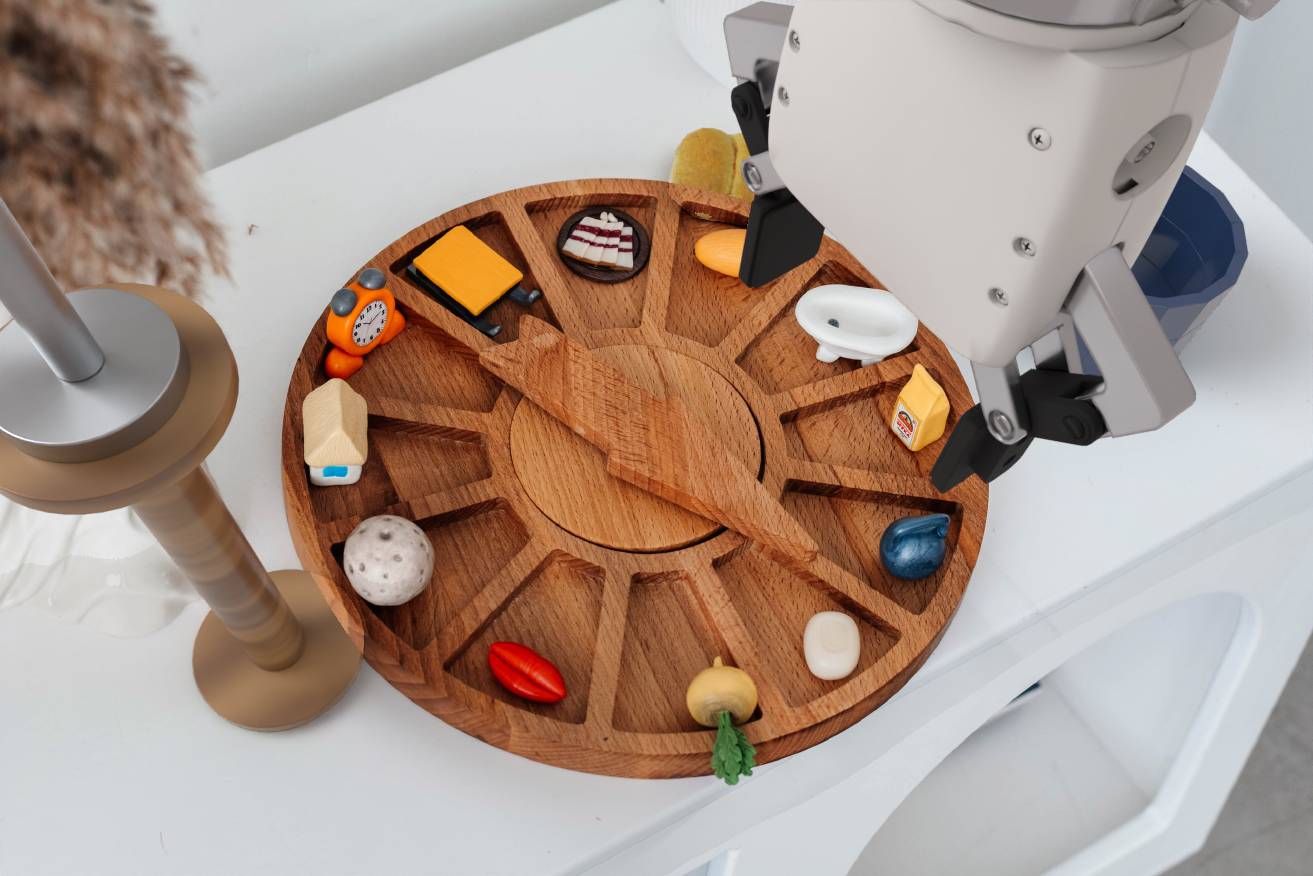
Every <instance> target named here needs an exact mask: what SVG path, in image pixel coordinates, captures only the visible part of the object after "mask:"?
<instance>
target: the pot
mask: <svg viewBox="0 0 1313 876" xmlns="http://www.w3.org/2000/svg"><path fill="white" fill-rule="evenodd" d="M1248 257H1249V249H1248V243H1247V236H1246V230H1245V223H1244V222H1243V220H1242V219H1241V217H1240V216H1239V214H1238V213H1237V211H1236V209H1235V208H1234V206H1233V205H1232V203H1231V202H1230V200H1229V199H1228V197H1227V196H1226V195H1225V193H1224V192H1223V191H1222V190H1221V189H1219V188H1218V187H1217V186H1216V185H1214V184H1213V183H1211V181H1209V180H1208V179H1207V178H1205V176H1203V175H1201V173H1199V172H1198V171H1196V170H1195V169H1194V168H1192V167H1191V166H1190V165H1188V164H1185V167H1184V169H1183V171H1182V173H1181V175H1180V177H1179V179H1178V181H1177V183H1176V185H1175V187H1174V189H1173V191H1172V193H1171V195H1170V197H1169V199H1168V201H1167V203H1166V205H1165V207H1164V209H1163V211H1162V213H1161V215H1160V217H1159V219H1158V221H1157V223H1156V225H1155V226H1154V228H1153V230H1152V232H1151V234H1150V236H1149V238H1148V239H1147V241H1146V243H1145V245H1144V247H1143V249H1142V251H1141V252H1140V254H1139V256H1138V257H1137V259H1136V261H1135V262H1134V264H1133V266H1132V268H1131V271H1132V273H1133V275H1134V277H1135V279H1136V280H1137V282H1138V284H1139V286H1140V288H1141V290H1142V292H1143V293H1144V295H1145V297H1146V299H1147V301H1148V303H1149V304H1150V306H1151V308H1152V310H1153V312H1154V314H1155V316H1156V317H1157V319H1158V321H1159V323H1160V325H1161V327H1162V328H1163V330H1164V332H1165V334H1166V336H1167V338H1168V340H1169V341H1170V343H1171V345H1172V347H1173V349H1174V351H1175V353H1176V354H1177V356H1178V357H1179V355H1180V354H1181V353H1182V352H1183V350H1185V348H1186V347H1187V346H1188V345H1189V343H1190V342H1191V340H1193V338H1194V337H1195V335H1197V333H1198V332H1199V330H1200V329H1201V328H1203V326H1204V324H1205V323H1206V322H1207V321H1208V319H1209V318H1210V317H1211V315H1212V314H1213V313H1214V312H1215V310H1217V308H1218V307H1219V306H1220V304H1221V303H1222V302H1223V301H1224V299H1225V298H1226V297H1227V296H1228V294H1229V293H1230V292H1231V290H1232V289H1233V288H1234V287H1235V285H1236V284H1237V283H1238V281H1239V278H1240V276H1241V274H1242V271H1243V268H1244V266H1245V264H1246V262H1247V260H1248ZM1073 325H1074V330H1075V335H1076V340H1077V345H1078V350H1079V355H1080V360H1081V365H1082V370H1083V374H1086V375H1096V376H1102V374H1101V372H1100V370H1099V368H1098V367H1097V365H1096V363H1095V361H1094V359H1093V357H1092V356H1091V354H1090V352H1089V350H1088V348H1087V346H1086V345H1085V343H1084V341H1083V339H1082V337H1081V335H1080V334H1079V332H1078V330H1077V328H1076V326H1075V324H1074V323H1073ZM1028 347H1029V348H1030V349H1031V345H1029V346H1028Z"/></svg>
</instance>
